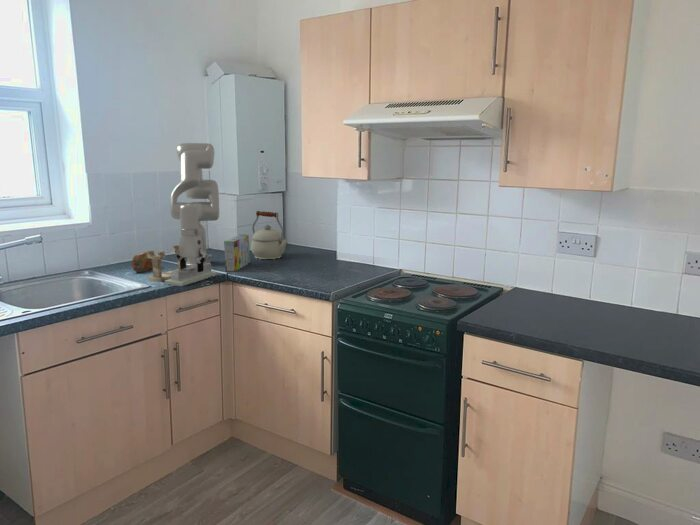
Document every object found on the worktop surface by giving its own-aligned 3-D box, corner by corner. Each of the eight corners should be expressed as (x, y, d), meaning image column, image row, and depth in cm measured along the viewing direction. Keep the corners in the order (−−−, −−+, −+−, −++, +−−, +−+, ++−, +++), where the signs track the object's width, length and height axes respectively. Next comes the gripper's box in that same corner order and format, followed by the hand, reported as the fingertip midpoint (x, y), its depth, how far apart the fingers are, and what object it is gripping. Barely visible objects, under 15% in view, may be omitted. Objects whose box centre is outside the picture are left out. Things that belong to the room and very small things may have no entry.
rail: (204, 270, 254) (204, 262, 253) (211, 271, 252) (211, 263, 251) (171, 280, 234) (170, 271, 233) (178, 281, 232) (178, 272, 232)
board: (201, 273, 256) (201, 270, 256) (217, 275, 252) (217, 271, 252) (165, 284, 234) (165, 280, 234) (181, 286, 231) (181, 282, 231)
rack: (179, 271, 259) (178, 244, 256) (191, 273, 256) (189, 245, 253) (148, 280, 241) (146, 251, 238) (160, 281, 238) (158, 252, 235)
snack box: (240, 262, 281) (239, 233, 278) (250, 263, 280) (249, 234, 277) (224, 271, 260) (223, 240, 257) (235, 272, 259) (234, 240, 256)
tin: (137, 273, 254) (136, 256, 252) (131, 273, 254) (130, 255, 253) (155, 267, 268) (154, 250, 267) (149, 267, 269) (148, 250, 267)
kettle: (241, 257, 294) (240, 211, 289) (265, 252, 309) (264, 209, 304) (276, 263, 280) (275, 215, 275) (299, 257, 295) (298, 212, 290)
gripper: (211, 232, 239) (212, 270, 243) (180, 230, 246) (182, 267, 250) (200, 235, 232) (201, 274, 236) (168, 232, 239) (170, 270, 243)
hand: (191, 270), depth 243 cm, fingers open, 9 cm apart
